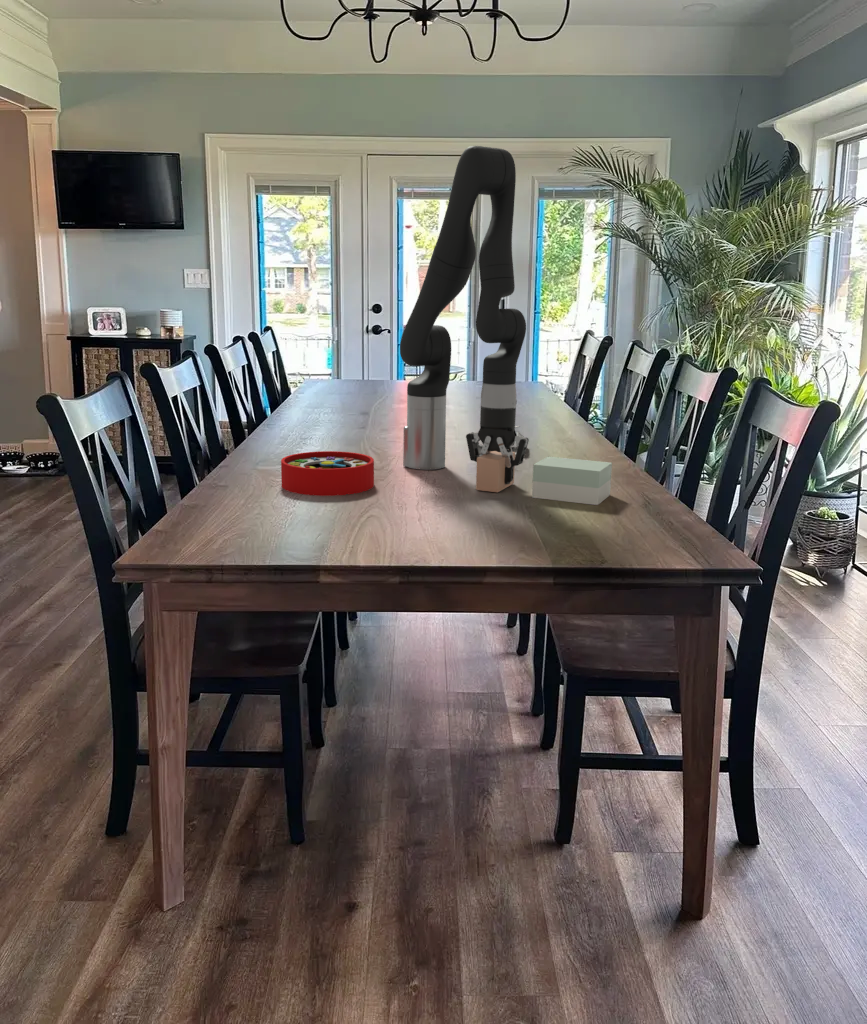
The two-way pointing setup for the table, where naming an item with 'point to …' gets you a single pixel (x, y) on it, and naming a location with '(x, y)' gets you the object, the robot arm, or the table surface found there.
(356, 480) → the toy clock
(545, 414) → the table surface
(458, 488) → the table surface
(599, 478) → the green and white block
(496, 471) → the terracotta brick
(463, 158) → the robot arm
